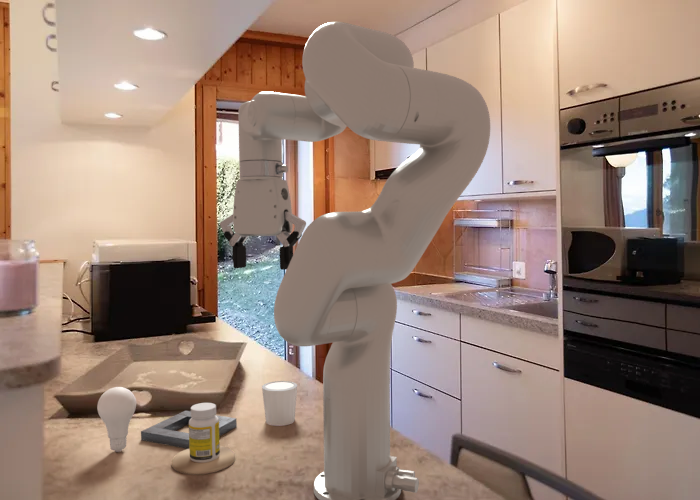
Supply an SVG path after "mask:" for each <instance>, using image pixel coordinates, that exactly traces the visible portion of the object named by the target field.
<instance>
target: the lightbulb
mask: <svg viewBox="0 0 700 500" xmlns="http://www.w3.org/2000/svg"><path fill="white" fill-rule="evenodd" d="M96 407H97V409H96V410H97V413H98V415H99V417H100V419H101V420H102V422H103V423H104V425H105V428H106V431H107V437H108V439H109V445H110V446H109V447H110V449H111V451H114V452H115V453H120V452H122V451H123V450H124V449H126V447H127V436H128V433H129V425H130V422H131V419H132V418H133V416H134V413H135V411H136V409H137V408H136V407H137V398H136V396H135V395H134V393H133V392H132V391H131V390H130V389H129V388H126V387H124V386H123V387H122V386H115V387H111V388H108V389H107V390H105V392H103V394H101V396H100V397H99V399H98V401H97V406H96Z"/></svg>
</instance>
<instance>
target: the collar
mask: <svg viewBox="0 0 700 500" xmlns="http://www.w3.org/2000/svg"><path fill="white" fill-rule="evenodd" d="M216 416H217V417H218V419H219V438H220V437H222V436H223V435H225V434H226V433H228V432H230V431H232V430H234V429H235V428H237V427H238V426H237V418H236V417H230V416H221V415H217V414H216ZM191 418H192V417H191V410H184V411H181V412H179V413H177V414H174V415H173V416H170V417H169V418H166V419H164V420H163V421H160V422H159V423H156V424H154V425H151V426H150V427H148V428H145V429H143V430H141V431H140V440H141V441H144V442H149V443H153V444H155V443H156V444H159V445H164V446H165V445H166V446H170V447H176V448H180V449H185V450H186V449H189V432H184V431H178V430H179V429H181V428H183V427H186V426H187V425H188V426H189V420H190V419H191Z"/></svg>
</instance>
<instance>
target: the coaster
mask: <svg viewBox="0 0 700 500" xmlns="http://www.w3.org/2000/svg"><path fill="white" fill-rule="evenodd" d="M235 461H236V452H235V451H234V450H233V449H232V448H231V447H228V446H225V445H224V446H223V445H220V455H219V457H218V458H217V459H215V460H213V461H210V462H206V463H198V462H194V461H192V460H191V459H190V449H186V448H185V449H183V450H181V451H179V452H178V453H176V454H175V455H174V456H173V457H172V459H171V467H172V469H173V470H174V471H176V472H178V473H181V474H184V475H206V474H207V475H208V474H211V473H217V472H220V471H222V470H224V469H226V468H229V467H230V466H231V465H233V464H234V463H235Z"/></svg>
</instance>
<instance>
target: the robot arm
mask: <svg viewBox="0 0 700 500" xmlns="http://www.w3.org/2000/svg"><path fill="white" fill-rule="evenodd" d="M302 53H303V54H302V62H301V63H302V71H303V75H304V78H305V81H304V95H299V94H291V93H283V92H276V91H275V92H274V91H260V92H258V93H257V94H255V95H254V96H253V97H252V98H251V100H250V101H244V102H243V103H242V104H240V105H239V108H238V113H237V114H238V152H239V153H238V158H239V161H238V162H239V163H238V165H239V166H238V167H239V169H238V170H239V180H236V184H235V189H234V198H233V210H232V211H233V212H232V214H231V215H229V216H228V217H226V218H225V219H223V220H222V221H220V223H219V226H220V228H221V231H222V233H223V236H224V238H225V239H226V241H228V244H229V246H230V247H232V264H233V268H234V269H241V268H242V269H243V268H246V267H247V247H246V245H244V243H245V242H246V240H247V239H248V238H249V237H258V236H259V237H273V236H274V237H276V238H277V239H278V241H279V242H280V243H281V245H282V246H280V247H279V268H280V270H286V271H285V273H284V275H283V277H282V280H281V281H280V284H279V287H278V289H277V293H276V296H275V301H274V307H273V319H274V325H275V327H276V330H277V332H278V334H279V336H280V337H281V338H282V339H283V340H284V341H286V343H289V344H290V345H293V346H296V347H313V346H319V345H325V344H331V343H332V344H331V345H330V347H329V350H328V352H327V355H326V357H325V361H324V365H323V371H322V372H323V373H322V375H323V376H322V382H323V383H322V390H323V391H322V394H323V396H322V398H323V399H322V400H323V402H322V405H323V471H322V472H321V473H319V474H318V475H317V476H316V477H315V479H314V481H313V494H314V496H315V497H316V498H317V499H318V500H397V499H398V498H399V497H400V495H401V493H402V491H404V492H409V493H415V494H417V492H418V491H419V487H420V479H419V477H416V471H414V470H410V469H400V466H398V465H397V462H398V460H397V458H398V457H397V456H395V455H394V456H393V455H391V396H390V395H391V392H390V391H391V389H390V387H391V385H390V384H391V353H392V352H391V349H392V340H393V335H394V329H395V324H396V323H395V322H396V319H397V309H398V300H397V294H396V292H395V287H393V285H392V284H396V283H398V282H401V281H403V280H405V279H406V278H407V277H408V276H410V274H411V273H412V272H413V270H414V269H415V267H416V266H417V264H418V263H419V262H420V260H421V258H422V256H423V254H425V252H426V250H427V249H428V247H429V245H430V243H431V242H432V241H433V239H434V237H435V235H436V234H437V232H438V231H439V230H440V228H441V226H442V224H443V222H444V220H445V218H446V216H447V215H448V213H449V212H450V211H451V210H452V207H453V206H454V205H455V203H456V202H457V201H458V199H459V198H460V197H461V195H462V194H463V192H464V191H466V189H467V187H469V185H470V183H471V182H472V180H473V179H474V177H475V176H476V174H477V173H478V172H479V169H480V167H481V166H482V164H483V162H484V159H485V156H486V154H487V152H488V148H489V143H490V139H491V138H490V137H491V116H490V112H489V108H488V105H487V102H486V100H485V98H484V97H483V95H482V93H481V92H480V91H479V90H478V89H477V88H476V87H474V86H473V85H472V84H471V83H469V82H468V81H465V80H464V79H462V78H459V77H457V76H455V75H454V76H453V75H450V74H446V73H442V72H437V71H433V70H429V69H428V70H427V69H421V68H416V67H414V66H415V65H414V57H413V54H412V53H411V51H410V48H409V47H408V46H407V45H406V43H404V42H403V40H402V39H400V38H399V37H397V36H395V35H393V34H391V33H389V32H386V31H385V32H384V31H381V30H376V29H372V28H370V27H369V28H368V27H364V26H362V25H356V24H351V23H348V22H342V21H330V22H327V23H324V24H322V25H320V26H318V27H317V28H316V29H315V30H314V31H313V32H312V33H311V35H310V36H309V37H308V39H307V41H306V43H305V46H304V49H303V52H302ZM347 128H349V129H350V131H352V132H353V133H354V134H356V135H357V136H361V137H362V138H364V139H367V140H372V141H377V142H387V143H388V142H389V143H400V144H406V145H407V144H409V145H411V144H412V145H419V148H418V150H417V151H416V152H415V153H413V154H412V155H411V156H409V157H408V158H406V159H405V161H403V162H402V163H401V164H400V165H398V166H397V168H395V169H394V170H393V172H392V173H391V174H390V175H389V177H388V178H387V180H386V181H385V183H384V184H383V187H382V189H381V191H380V193H379V194H378V197H377V198H376V200H375V201H374V202H373V204H372V205H371V206H370V207H369V208H367V209H364V210H361V211H333V212H329V213H324V214H322V215H320V216H318V217H316V218H315V219H314V220H313V221H312V222H311V223H310V224H309V225H308V226H307V222H306V220H304V219H302V218H301V217H299V216H297V215H295V214H293V211H292V210H293V208H292V202H291V196H290V191H289V186H288V181H287V179H283V177H284V173H288V172H289V166H288V165H287V164H284V163H283V153H282V151H283V150H282V149H283V148H282V145H283V144H282V143H283V140H287V141H297V142H309V143H310V142H311V143H314V142H315V143H316V142H322V141H324V140H327V139H330V138H332V137H335V136H337V135H340V134H341V133H343V132H344V131H345V130H346V129H347ZM232 226H233V227H232ZM293 226H294V228H293ZM306 226H307V227H306ZM232 228H233V229H232ZM298 241H299V242H298ZM297 242H298V244H297ZM296 245H297V246H296ZM295 246H296V248H295V250H294V247H295Z"/></svg>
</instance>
